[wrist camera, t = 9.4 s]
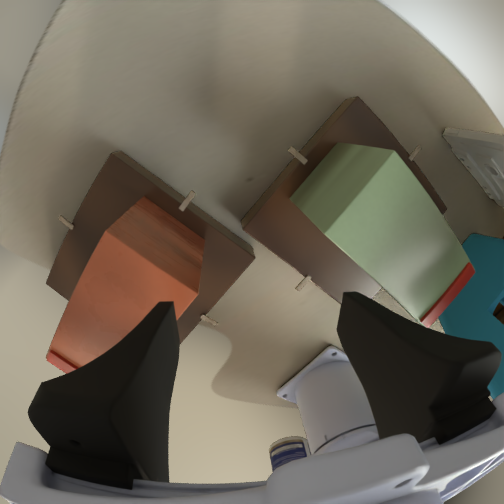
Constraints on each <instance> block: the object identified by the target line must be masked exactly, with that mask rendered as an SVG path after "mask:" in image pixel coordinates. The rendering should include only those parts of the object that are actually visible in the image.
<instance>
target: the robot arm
mask: <svg viewBox="0 0 504 504" xmlns="http://www.w3.org/2000/svg"><path fill="white" fill-rule="evenodd" d="M337 333H338V336H339V339H340V342H341V344H342V347H343V349H344V351H345V353H346V354H345V353H344V352H342V351H341V350H339V349H337V348H336V347H334V346H329V347H327V348H326V349H325V350H324V351H323V352H322V353H321V354H320V355H318V356H317V357H316V358H315V359H314V360H313V361H312V362H311V363H309V364H308V365H307V366H306V367H305V368H304V369H303V370H301V371H300V372H299V373H298V374H297V375H296V376H294V377H293V378H292V379H291V380H290V381H288V382H287V383H286V384H285V385H284V386H282V387H281V388H280V389H279V390H277V392H276V393H277V396H278V397H281V398H283V399H286V400H288V401H290V402H293V403H295V404H298V408H299V411H300V415H301V419H302V422H303V426H304V429H305V433H306V436H307V440H308V444H309V447H310V451H311V455H310V456H308V457H305V458H301V459H297V460H293V461H291V462H289V463H286V464H284V465H282V466H280V467H278V468H276V469H275V470H274V472H273V473H272V474H271V475H270V477H269V478H268V479H267V481H258V482H246V483H225V484H189V483H169V468H168V467H169V466H168V434H169V432H168V431H169V411H170V403H171V397H172V392H173V386H174V381H175V376H176V371H177V366H178V359H179V346H180V338H179V332H178V326H177V320H176V314H175V307H174V301H159V302H158V303H157V304H156V305H155V307H154V308H153V309H152V310H151V311H150V312H149V313H148V314H147V315H146V316H145V317H144V318H143V320H142V321H141V322H140V323H139V324H138V325H137V326H136V327H135V328H134V329H133V330H132V331H130V332H129V333H128V334H127V335H126V336H125V337H124V338H123V339H122V340H121V341H119V342H118V343H117V344H116V345H114V346H113V347H112V348H110V349H109V350H108V351H106V352H105V353H104V354H102V355H100V356H99V357H97V358H96V359H94V360H92V361H91V362H89V363H87V364H86V365H84V366H82V367H80V368H78V369H76V370H74V371H71V372H69V373H67V374H65V375H63V376H59V377H57V378H54V379H51V380H48V381H45V382H42V383H41V385H40V387H39V389H38V391H37V393H36V395H35V397H34V399H33V401H32V403H31V405H30V407H29V409H28V415H29V418H30V421H31V422H32V424H33V425H34V427H35V428H36V430H37V431H38V432H39V433H40V434H41V436H42V437H43V438H44V440H45V441H46V442H47V443H48V444H49V445H50V450H49V453H48V454H47V453H46V452H45V451H43V450H41V449H39V448H35V447H33V446H30V445H27V444H24V443H21V442H16V445H15V447H14V450H13V452H12V454H11V457H10V460H9V462H8V465H7V468H6V471H5V474H4V476H3V479H2V482H1V485H0V496H1V497H2V498H4V499H5V500H6V501H8V502H9V503H11V504H444V503H443V502H445V501H446V500H448V499H450V498H451V497H453V496H454V495H456V494H458V493H459V492H461V491H462V490H464V489H465V488H467V487H469V486H470V485H471V484H473V483H474V482H476V481H477V480H479V479H480V478H482V477H483V476H484V475H486V474H487V473H489V472H490V471H491V470H493V469H494V468H495V467H496V466H498V465H499V464H500V463H502V462H503V461H504V393H502V394H500V395H499V396H497V397H496V398H495V399H494V400H493V401H492V402H491V401H490V399H489V398H488V397H489V396H490V394H491V392H490V391H489V389H488V388H487V387H488V385H489V383H490V382H491V380H492V379H493V377H494V375H495V373H496V372H497V370H498V368H499V366H500V363H501V359H502V353H501V352H500V350H499V349H498V348H497V347H496V346H495V345H494V344H493V343H492V342H490V341H480V340H471V339H466V338H460V337H456V336H452V335H448V334H444V333H441V332H438V331H435V330H432V329H429V328H426V327H424V326H422V325H419V324H417V323H414V322H412V321H410V320H408V319H406V318H404V317H402V316H400V315H398V314H396V313H395V312H393V311H391V310H389V309H387V308H386V307H384V306H382V305H381V304H379V303H377V302H375V301H374V300H372V299H370V298H368V297H367V296H365V295H363V294H361V293H359V292H357V291H351V292H343V297H342V303H341V309H340V315H339V320H338V325H337ZM333 352H335V353H333Z"/></svg>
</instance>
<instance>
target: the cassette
mask: <svg viewBox="0 0 504 504" xmlns="http://www.w3.org/2000/svg"><path fill="white" fill-rule="evenodd" d="M442 136H443V137H444V139H445V140H446V141H447V142H448V143H449V144H450V145H451V146H452V150H451V151H452V152H453V153H454V154H455V155H456V156H457V158H458V159H459V160H460V161H461V162H462V163H463V165H464V166H465V167H466V168H467V169H468V171H469V172H470V173H471V174H472V176H473V177H474V178H475V179H476V181H477V182H478V183H479V184H480V186H481V187H482V188H483V190H484V191H485V192H486V194H487V195H488V196H489V198H490V199H494V200H495V202H496V203H497V204H498V205H499V206H501V207H503V208H504V135H500V134H494V133H487V132H480V131H473V130H464V129H455V128H446V129H445V131H444V133H443V135H442Z"/></svg>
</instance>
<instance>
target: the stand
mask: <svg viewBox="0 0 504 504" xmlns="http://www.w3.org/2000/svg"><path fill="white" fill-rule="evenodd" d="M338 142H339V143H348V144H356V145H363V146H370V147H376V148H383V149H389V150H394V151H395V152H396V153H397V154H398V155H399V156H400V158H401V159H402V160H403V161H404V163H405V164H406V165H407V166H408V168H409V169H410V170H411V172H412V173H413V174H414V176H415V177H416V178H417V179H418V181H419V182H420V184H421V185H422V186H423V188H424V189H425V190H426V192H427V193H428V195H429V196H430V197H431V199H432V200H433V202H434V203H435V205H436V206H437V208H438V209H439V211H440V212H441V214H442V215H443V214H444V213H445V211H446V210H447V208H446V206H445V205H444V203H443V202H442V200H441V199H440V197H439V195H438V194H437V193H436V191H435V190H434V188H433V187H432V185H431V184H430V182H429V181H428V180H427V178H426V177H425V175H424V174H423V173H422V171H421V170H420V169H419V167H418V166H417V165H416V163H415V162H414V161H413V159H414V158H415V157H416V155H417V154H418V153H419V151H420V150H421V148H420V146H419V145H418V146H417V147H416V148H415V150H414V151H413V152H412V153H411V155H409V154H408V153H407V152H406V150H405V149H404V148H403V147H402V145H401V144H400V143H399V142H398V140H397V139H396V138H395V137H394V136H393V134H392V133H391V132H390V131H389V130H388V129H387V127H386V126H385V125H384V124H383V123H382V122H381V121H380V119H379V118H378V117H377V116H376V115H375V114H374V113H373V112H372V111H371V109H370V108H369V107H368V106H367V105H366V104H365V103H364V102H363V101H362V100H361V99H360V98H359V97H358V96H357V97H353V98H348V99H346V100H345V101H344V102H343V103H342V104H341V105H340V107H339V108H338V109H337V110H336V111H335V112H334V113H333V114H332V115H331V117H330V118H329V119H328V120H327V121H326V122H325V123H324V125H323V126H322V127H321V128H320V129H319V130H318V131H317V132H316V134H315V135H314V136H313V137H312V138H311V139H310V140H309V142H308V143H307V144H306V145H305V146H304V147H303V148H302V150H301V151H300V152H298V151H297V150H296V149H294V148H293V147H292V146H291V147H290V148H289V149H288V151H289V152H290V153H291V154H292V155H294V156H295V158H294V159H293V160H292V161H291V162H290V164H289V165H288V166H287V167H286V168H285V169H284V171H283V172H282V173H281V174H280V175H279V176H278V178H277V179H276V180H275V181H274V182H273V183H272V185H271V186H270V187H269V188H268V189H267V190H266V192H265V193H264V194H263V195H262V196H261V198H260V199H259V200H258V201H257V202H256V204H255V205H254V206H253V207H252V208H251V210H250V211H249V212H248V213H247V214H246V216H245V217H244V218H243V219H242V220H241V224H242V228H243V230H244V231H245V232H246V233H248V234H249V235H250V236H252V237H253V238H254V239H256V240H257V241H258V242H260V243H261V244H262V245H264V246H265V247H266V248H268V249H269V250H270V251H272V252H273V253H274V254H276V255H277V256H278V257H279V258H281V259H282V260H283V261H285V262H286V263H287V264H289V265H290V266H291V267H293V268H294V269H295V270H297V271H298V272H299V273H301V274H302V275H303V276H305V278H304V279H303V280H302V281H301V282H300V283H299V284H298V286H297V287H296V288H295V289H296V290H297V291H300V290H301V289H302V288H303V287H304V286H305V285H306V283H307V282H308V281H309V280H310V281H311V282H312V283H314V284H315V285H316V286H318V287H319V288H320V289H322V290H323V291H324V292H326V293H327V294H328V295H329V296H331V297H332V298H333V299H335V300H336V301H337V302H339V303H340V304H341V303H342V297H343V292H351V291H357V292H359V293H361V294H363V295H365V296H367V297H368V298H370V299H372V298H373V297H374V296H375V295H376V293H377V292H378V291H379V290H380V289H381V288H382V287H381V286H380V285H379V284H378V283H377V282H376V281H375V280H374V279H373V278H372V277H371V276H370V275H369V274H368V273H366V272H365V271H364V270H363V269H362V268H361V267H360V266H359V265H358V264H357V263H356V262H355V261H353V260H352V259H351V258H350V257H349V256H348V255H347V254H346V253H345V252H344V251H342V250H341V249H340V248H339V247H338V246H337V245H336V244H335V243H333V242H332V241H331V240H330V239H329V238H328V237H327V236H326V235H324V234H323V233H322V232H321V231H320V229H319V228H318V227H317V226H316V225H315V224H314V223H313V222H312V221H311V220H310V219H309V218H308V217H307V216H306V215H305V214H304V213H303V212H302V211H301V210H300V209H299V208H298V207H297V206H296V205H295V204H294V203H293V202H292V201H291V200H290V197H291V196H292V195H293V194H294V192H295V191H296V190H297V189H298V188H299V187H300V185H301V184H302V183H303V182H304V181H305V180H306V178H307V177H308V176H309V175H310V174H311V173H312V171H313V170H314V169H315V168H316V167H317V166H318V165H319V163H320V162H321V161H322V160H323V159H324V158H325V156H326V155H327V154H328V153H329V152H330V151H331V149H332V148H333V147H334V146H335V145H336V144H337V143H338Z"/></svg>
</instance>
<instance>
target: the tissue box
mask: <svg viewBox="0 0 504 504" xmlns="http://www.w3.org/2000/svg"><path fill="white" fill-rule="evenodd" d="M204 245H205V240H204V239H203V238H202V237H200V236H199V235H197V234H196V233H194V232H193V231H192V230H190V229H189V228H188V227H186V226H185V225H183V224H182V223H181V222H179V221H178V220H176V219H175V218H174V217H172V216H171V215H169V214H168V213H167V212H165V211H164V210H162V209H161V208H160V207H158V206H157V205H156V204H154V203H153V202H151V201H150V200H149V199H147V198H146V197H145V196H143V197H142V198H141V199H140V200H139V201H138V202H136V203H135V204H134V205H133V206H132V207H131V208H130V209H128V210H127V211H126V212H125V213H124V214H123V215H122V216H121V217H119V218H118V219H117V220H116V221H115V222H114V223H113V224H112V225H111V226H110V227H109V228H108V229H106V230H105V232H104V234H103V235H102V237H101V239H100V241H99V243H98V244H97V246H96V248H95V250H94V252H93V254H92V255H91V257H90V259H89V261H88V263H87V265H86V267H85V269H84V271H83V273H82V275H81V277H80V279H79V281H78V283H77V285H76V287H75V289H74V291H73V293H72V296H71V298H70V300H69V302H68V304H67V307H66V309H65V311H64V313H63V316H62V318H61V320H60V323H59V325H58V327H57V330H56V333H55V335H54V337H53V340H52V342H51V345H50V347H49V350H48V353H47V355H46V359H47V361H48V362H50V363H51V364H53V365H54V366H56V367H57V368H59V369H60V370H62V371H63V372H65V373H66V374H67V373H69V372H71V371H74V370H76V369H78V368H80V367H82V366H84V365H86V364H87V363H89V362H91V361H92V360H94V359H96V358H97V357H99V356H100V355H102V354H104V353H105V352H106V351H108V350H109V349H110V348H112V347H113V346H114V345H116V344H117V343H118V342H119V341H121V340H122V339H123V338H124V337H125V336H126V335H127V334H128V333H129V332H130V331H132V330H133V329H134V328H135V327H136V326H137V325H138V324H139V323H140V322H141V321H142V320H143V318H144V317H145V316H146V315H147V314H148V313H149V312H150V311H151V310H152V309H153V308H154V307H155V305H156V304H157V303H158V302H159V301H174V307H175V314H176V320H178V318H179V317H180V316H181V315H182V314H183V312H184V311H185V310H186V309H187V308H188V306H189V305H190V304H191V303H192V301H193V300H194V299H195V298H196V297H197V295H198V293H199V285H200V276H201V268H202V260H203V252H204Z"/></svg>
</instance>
